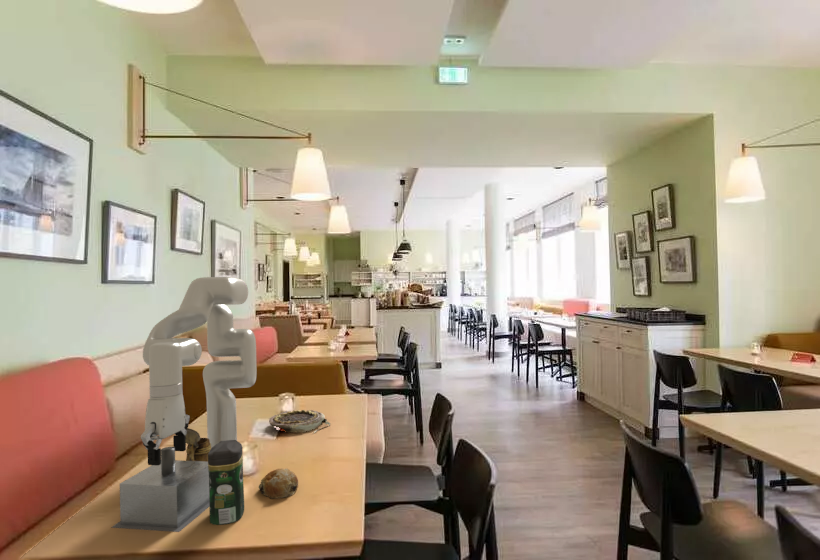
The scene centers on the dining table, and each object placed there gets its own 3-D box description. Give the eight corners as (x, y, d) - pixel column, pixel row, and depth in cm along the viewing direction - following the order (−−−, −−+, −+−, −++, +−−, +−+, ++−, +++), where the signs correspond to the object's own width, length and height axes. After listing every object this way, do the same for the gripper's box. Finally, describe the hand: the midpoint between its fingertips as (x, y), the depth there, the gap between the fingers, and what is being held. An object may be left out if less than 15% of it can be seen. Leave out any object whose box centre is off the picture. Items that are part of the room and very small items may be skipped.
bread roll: (281, 514, 127) (292, 488, 127) (249, 495, 129) (260, 469, 128) (297, 497, 137) (307, 473, 136) (267, 480, 139) (277, 456, 138)
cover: (120, 524, 115) (118, 459, 115) (162, 496, 130) (161, 437, 130) (177, 528, 113) (175, 461, 113) (213, 498, 128) (212, 439, 128)
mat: (111, 529, 114) (111, 527, 114) (161, 495, 132) (161, 493, 132) (179, 534, 111) (179, 531, 111) (221, 498, 129) (221, 496, 129)
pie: (294, 442, 174) (294, 429, 174) (245, 432, 188) (244, 419, 188) (344, 422, 198) (343, 410, 198) (296, 414, 212) (296, 403, 212)
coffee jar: (214, 510, 123) (212, 438, 123) (246, 506, 124) (244, 436, 124) (205, 529, 113) (203, 452, 113) (240, 525, 115) (238, 449, 115)
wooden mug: (170, 491, 134) (168, 428, 134) (191, 472, 148) (189, 414, 148) (201, 490, 134) (200, 427, 134) (219, 471, 148) (218, 413, 148)
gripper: (174, 383, 130) (175, 445, 130) (128, 398, 113) (129, 470, 113) (199, 383, 129) (201, 446, 129) (156, 399, 112) (157, 471, 112)
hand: (167, 457), depth 121 cm, fingers open, 9 cm apart
